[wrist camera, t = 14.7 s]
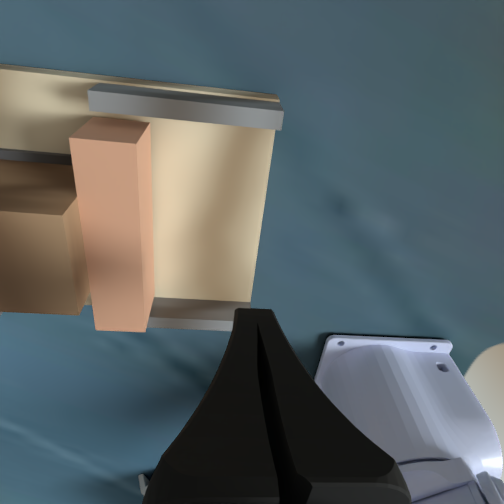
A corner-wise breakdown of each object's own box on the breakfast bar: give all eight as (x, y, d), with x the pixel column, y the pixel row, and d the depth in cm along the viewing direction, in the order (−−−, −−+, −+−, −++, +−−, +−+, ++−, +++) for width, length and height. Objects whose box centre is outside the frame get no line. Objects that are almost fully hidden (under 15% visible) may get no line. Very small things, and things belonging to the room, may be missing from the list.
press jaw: (150, 122, 18) (136, 143, 15) (154, 293, 23) (145, 332, 20) (93, 116, 17) (68, 137, 15) (111, 291, 23) (95, 330, 20)
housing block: (99, 167, 19) (62, 215, 14) (108, 253, 21) (79, 315, 17) (-11, 158, 18) (-83, 204, 14) (12, 247, 21) (-42, 309, 17)
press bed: (276, 94, 19) (295, 129, 14) (247, 300, 26) (253, 376, 20) (-81, 54, 17) (-216, 77, 12) (-8, 287, 24) (-73, 366, 19)
